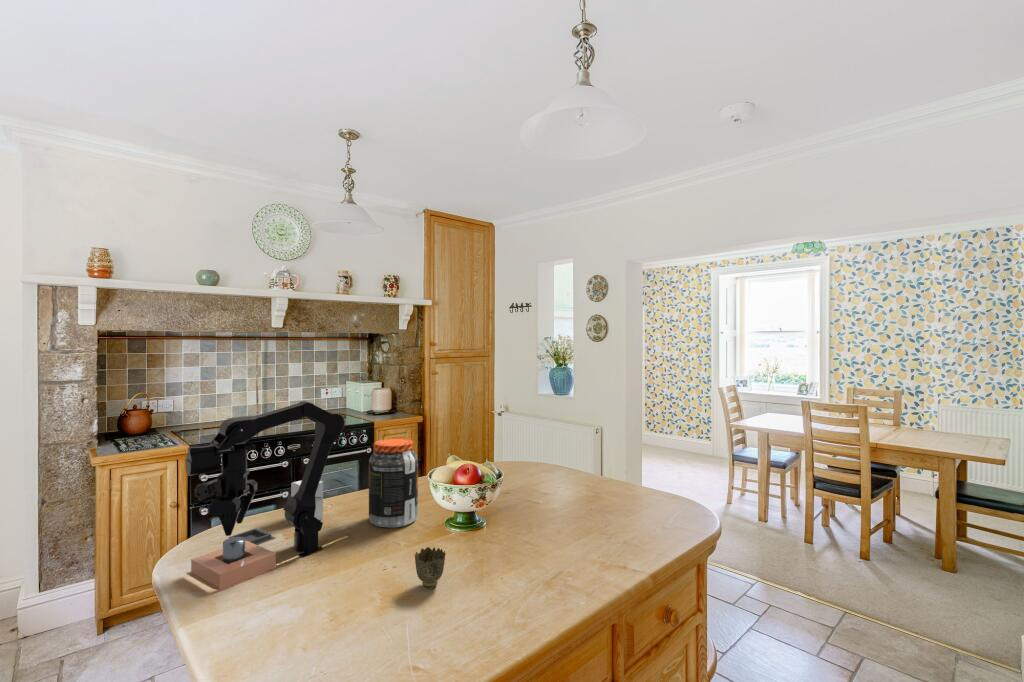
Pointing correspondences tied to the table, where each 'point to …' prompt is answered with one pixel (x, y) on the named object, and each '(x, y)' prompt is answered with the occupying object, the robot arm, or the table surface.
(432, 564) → the cup
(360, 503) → the table surface
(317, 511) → the supplement box
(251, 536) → the stand
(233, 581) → the hub block
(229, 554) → the steel peg
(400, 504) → the supplement tub
